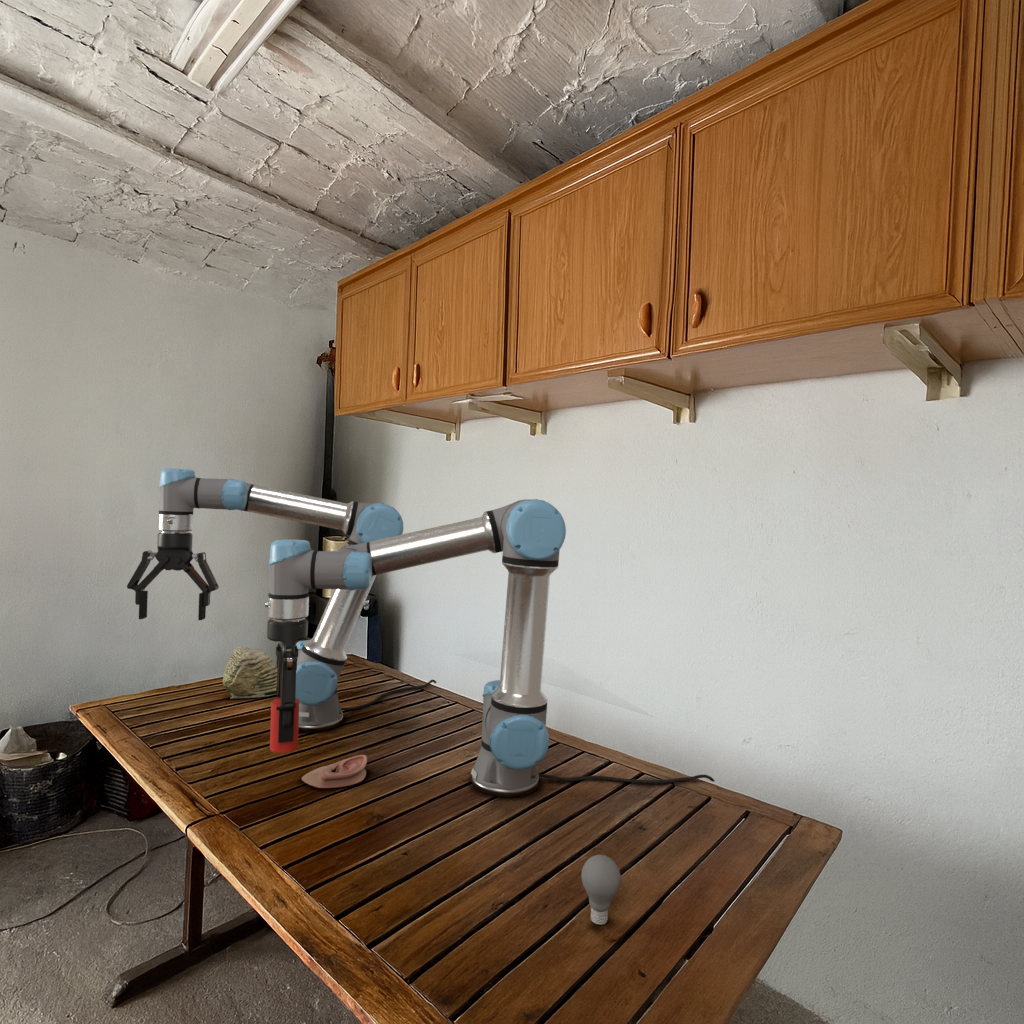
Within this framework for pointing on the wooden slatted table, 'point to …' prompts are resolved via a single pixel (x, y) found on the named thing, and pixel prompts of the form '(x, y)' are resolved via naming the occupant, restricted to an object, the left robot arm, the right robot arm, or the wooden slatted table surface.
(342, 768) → the anatomical model
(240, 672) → the fossil
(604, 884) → the light bulb
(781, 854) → the wooden slatted table surface
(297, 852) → the wooden slatted table surface
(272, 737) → the cylinder
